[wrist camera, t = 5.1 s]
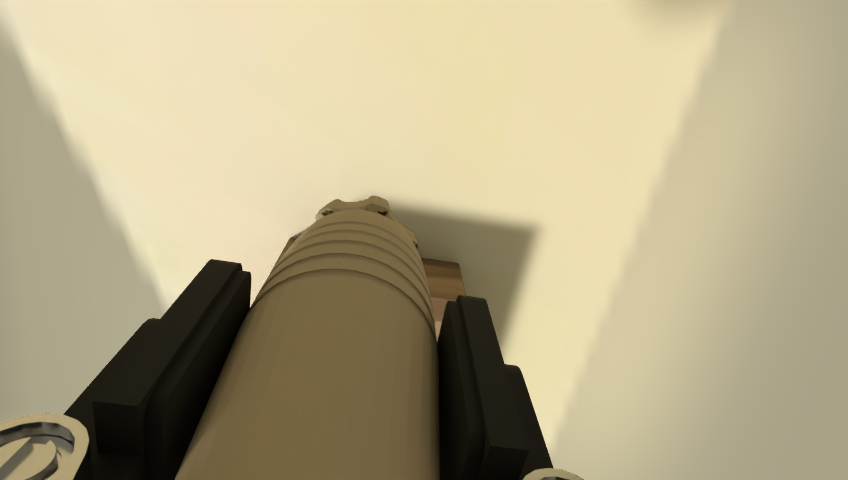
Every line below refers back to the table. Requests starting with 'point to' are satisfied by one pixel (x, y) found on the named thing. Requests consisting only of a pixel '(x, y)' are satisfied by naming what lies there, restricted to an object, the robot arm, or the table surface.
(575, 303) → the table surface
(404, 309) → the handle
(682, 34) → the table surface
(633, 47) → the table surface
